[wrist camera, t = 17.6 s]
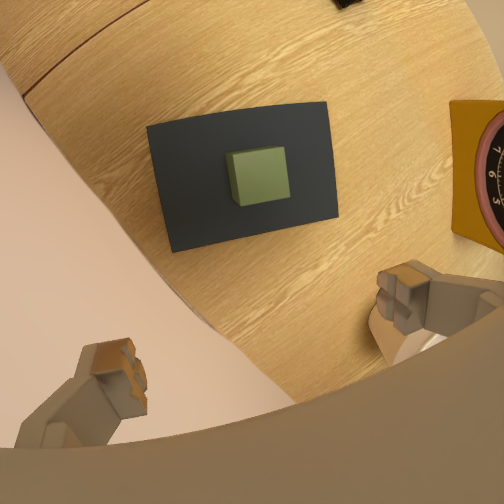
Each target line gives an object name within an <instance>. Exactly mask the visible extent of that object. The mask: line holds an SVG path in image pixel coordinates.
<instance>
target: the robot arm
mask: <svg viewBox="0 0 504 504" xmlns="http://www.w3.org/2000/svg"><path fill="white" fill-rule="evenodd" d="M377 285H378V286H379V287H380V290H379V291H378V293H377V295H376V304H377V308H378V311H379V313H380V314H381V316H382V317H383V318H384V319H385V320H389V321H393V327H395V328H396V329H397V330H398V331H399V332H400V333H401V334H403V335H404V336H406V335H409V334H411V333H413V332H416V331H418V330H420V329H422V328H424V329H425V330H428V331H431V332H433V333H436V334H439V335H442V336H445V337H448V338H447V339H445V340H443V341H441V342H439V343H437V344H435V345H434V346H432V347H430V348H428V349H426V350H424V351H422V352H420V353H418V354H416V355H414V356H412V357H410V358H408V359H406V360H404V361H402V362H400V363H397V364H395V365H393V366H391V367H389V368H387V369H384V370H382V371H380V372H378V373H375V374H373V375H371V376H368V377H366V378H364V379H361V380H359V381H357V382H354V383H352V384H349V385H347V386H344V387H342V388H339V389H337V390H334V391H331V392H329V393H326V394H323V395H321V396H318V397H315V398H312V399H309V400H306V401H304V402H301V403H298V404H295V405H292V406H289V407H285V408H282V409H279V410H276V411H273V412H270V413H266V414H262V415H259V416H255V417H252V418H248V419H245V420H241V421H237V422H233V423H230V424H225V425H221V426H217V427H213V428H208V429H204V430H199V431H195V432H190V433H184V434H179V435H174V436H169V437H163V438H157V439H151V440H144V441H137V442H129V443H121V444H113V445H107V443H108V441H109V440H110V438H111V437H112V435H113V433H114V432H115V430H116V429H117V427H118V426H119V424H120V422H121V420H123V419H128V418H134V417H139V416H144V415H147V398H146V396H145V394H144V392H145V391H146V390H147V379H146V374H145V371H144V367H143V365H142V363H141V360H139V359H138V358H136V357H135V346H134V344H133V342H132V340H131V339H130V338H124V339H118V340H112V341H107V342H101V343H95V344H90V345H86V346H84V347H83V349H82V352H81V356H80V359H79V362H78V365H77V369H76V372H75V375H74V378H71V379H69V380H67V381H66V382H65V383H64V384H63V385H62V386H61V387H60V388H59V389H58V390H56V391H55V392H54V393H53V394H52V395H51V396H50V397H49V398H48V399H47V400H46V401H45V402H44V403H43V404H42V405H40V406H39V407H38V408H37V409H36V410H35V411H34V412H33V413H32V414H31V415H30V416H29V417H28V418H27V419H25V421H24V422H22V424H21V427H20V430H19V434H18V437H17V440H16V443H15V446H14V448H0V504H504V282H501V281H494V280H487V279H480V278H473V277H465V276H458V275H451V274H445V275H443V274H441V273H439V272H437V271H435V270H434V269H432V268H430V267H428V266H426V265H425V264H423V263H421V262H419V261H417V260H410V261H407V262H405V263H402V264H400V265H397V266H394V267H391V268H389V269H386V270H383V271H380V272H379V273H378V275H377Z"/></svg>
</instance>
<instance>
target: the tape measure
mask: <svg viewBox="0 0 504 504" xmlns="http://www.w3.org/2000/svg"><path fill="white" fill-rule="evenodd" d="M337 1H338V3H339V4H340V5H341V7H342V8H345V7H347V6H349V5H351V4H352V3H354V2H359V1H361V0H337Z"/></svg>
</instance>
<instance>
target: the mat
mask: <svg viewBox="0 0 504 504" xmlns="http://www.w3.org/2000/svg"><path fill="white" fill-rule="evenodd" d="M146 128H147V133H148V139H149V145H150V150H151V156H152V161H153V166H154V171H155V176H156V181H157V186H158V191H159V196H160V201H161V205H162V210H163V214H164V219H165V223H166V228H167V232H168V236H169V240H170V245H171V249H172V253H175V252H179V251H184V250H188V249H193V248H197V247H202V246H206V245H211V244H215V243H220V242H224V241H229V240H233V239H238V238H243V237H247V236H252V235H257V234H261V233H266V232H271V231H275V230H280V229H285V228H289V227H294V226H299V225H304V224H308V223H313V222H318V221H323V220H328V219H332V218H337V217H339V215H338V201H337V189H336V178H335V168H334V158H333V149H332V140H331V132H330V124H329V117H328V109H327V102H309V103H295V104H283V105H273V106H264V107H255V108H247V109H239V110H232V111H225V112H219V113H213V114H207V115H201V116H195V117H190V118H184V119H179V120H174V121H169V122H165V123H160V124H155V125H151V126H147V127H146ZM267 146H279V147H284V151H285V159H286V166H287V174H288V182H289V190H290V197H288V198H282V199H277V200H272V201H266V202H261V203H256V204H251V205H246V206H240V205H239V204H238V203H237V202H236V201H235V200H234V199H233V198H232V192H231V186H230V180H229V174H228V168H227V161H226V155H225V153H230V152H235V151H242V150H248V149H254V148H261V147H267Z"/></svg>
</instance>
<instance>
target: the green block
mask: <svg viewBox="0 0 504 504" xmlns="http://www.w3.org/2000/svg"><path fill="white" fill-rule="evenodd" d="M225 155H226V161H227V168H228V174H229V180H230V186H231V192H232V198H233V199H234V200H235V201H236V202H237V203H238V204H239V205H240V206H246V205H251V204H256V203H261V202H266V201H272V200H277V199H282V198H288V197H290V190H289V182H288V174H287V166H286V159H285V151H284V147H279V146H267V147H261V148H254V149H248V150H242V151H235V152H230V153H225Z"/></svg>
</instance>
